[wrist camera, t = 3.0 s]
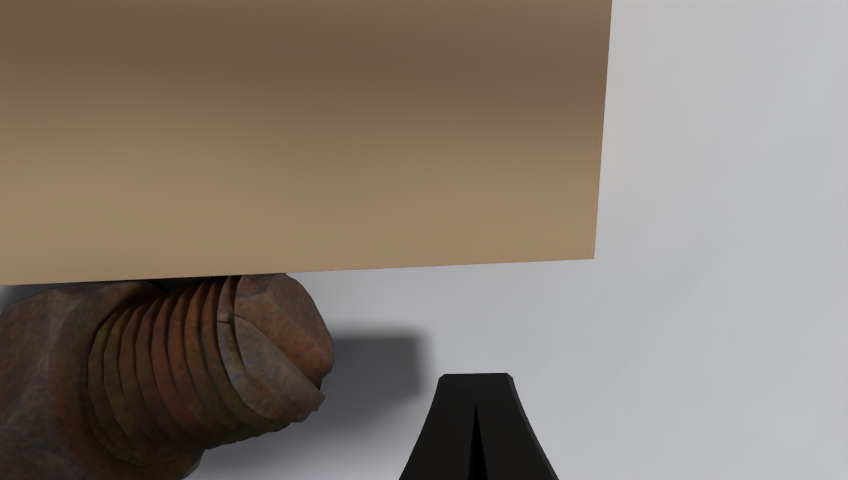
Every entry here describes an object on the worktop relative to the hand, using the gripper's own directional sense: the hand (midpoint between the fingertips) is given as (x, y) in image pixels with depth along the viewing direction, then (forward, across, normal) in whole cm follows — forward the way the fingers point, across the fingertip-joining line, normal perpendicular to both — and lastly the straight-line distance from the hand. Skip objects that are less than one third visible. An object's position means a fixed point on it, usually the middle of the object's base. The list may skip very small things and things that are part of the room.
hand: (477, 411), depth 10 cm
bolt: (+2, +10, 0) cm, 11 cm away
